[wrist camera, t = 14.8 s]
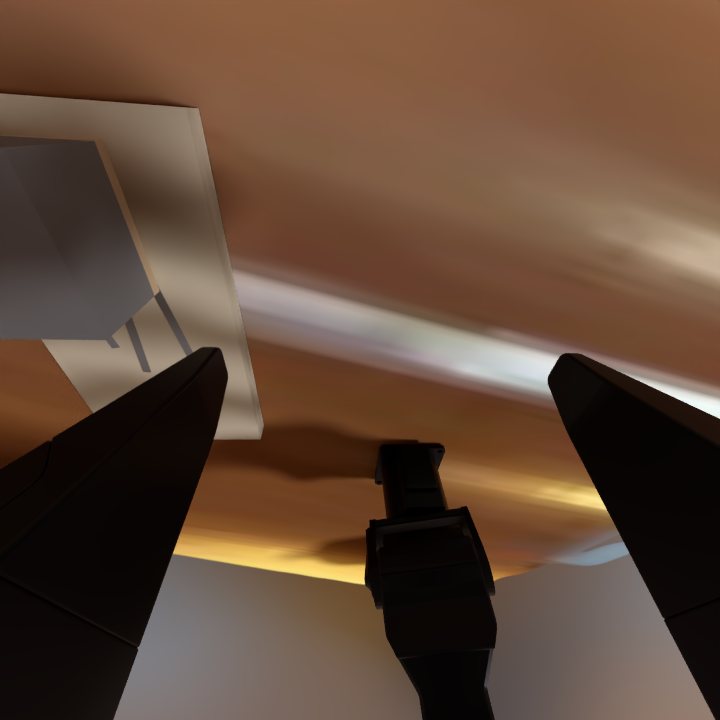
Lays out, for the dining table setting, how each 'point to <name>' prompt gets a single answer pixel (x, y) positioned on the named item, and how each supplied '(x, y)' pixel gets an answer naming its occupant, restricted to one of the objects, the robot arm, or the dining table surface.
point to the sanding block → (66, 242)
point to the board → (155, 251)
